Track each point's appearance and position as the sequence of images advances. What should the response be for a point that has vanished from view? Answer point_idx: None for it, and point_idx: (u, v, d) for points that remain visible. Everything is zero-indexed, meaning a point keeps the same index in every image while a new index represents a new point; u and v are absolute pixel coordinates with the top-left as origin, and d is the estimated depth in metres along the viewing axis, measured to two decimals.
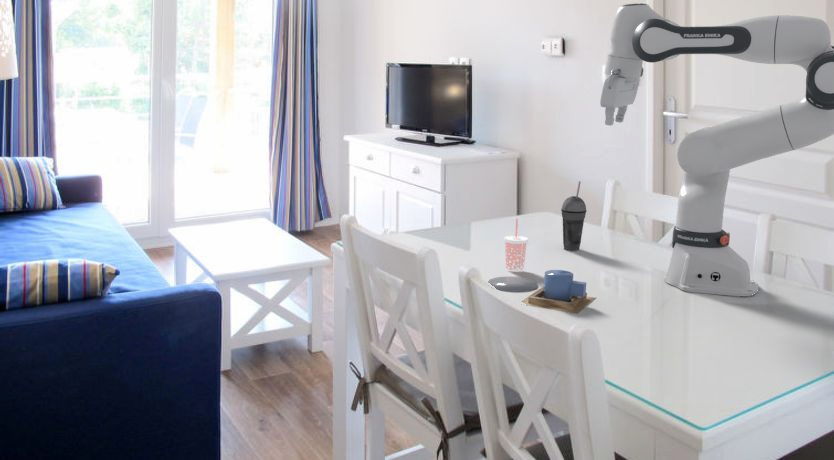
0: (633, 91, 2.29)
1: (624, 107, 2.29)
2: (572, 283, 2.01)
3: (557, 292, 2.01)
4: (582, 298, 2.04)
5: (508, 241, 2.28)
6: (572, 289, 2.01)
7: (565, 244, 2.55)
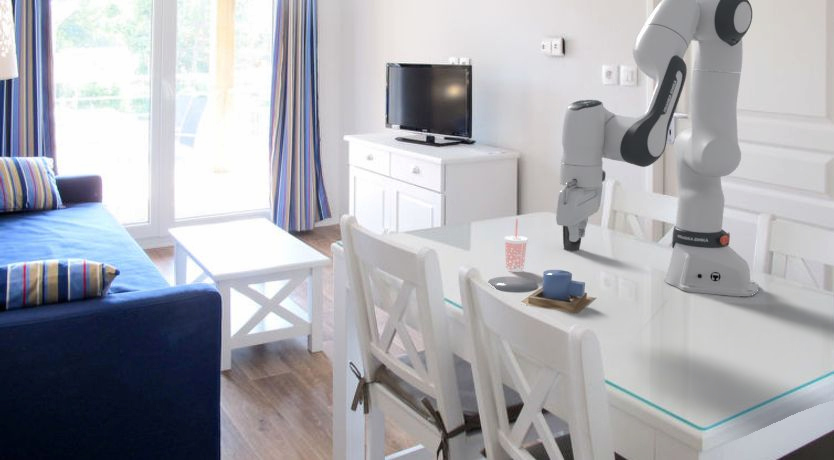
0: (596, 198, 1.97)
1: (584, 220, 1.94)
2: (571, 283, 2.01)
3: (556, 292, 2.01)
4: (582, 298, 2.04)
5: (508, 241, 2.28)
6: (571, 289, 2.02)
7: (565, 244, 2.55)
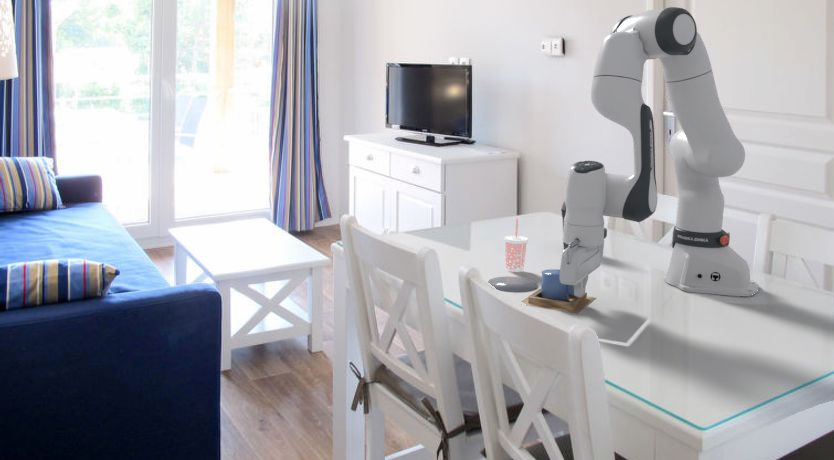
0: (598, 254, 2.03)
1: (584, 277, 1.99)
2: None
3: (555, 292, 2.01)
4: (582, 298, 2.04)
5: (508, 241, 2.28)
6: (570, 288, 2.02)
7: (565, 244, 2.55)
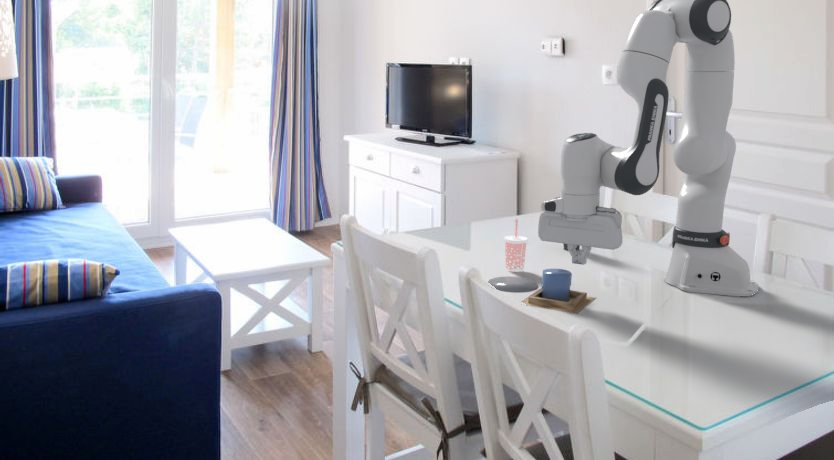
0: None
1: (576, 246, 2.06)
2: None
3: (569, 289, 2.04)
4: (582, 298, 2.04)
5: (508, 241, 2.28)
6: None
7: (565, 244, 2.55)
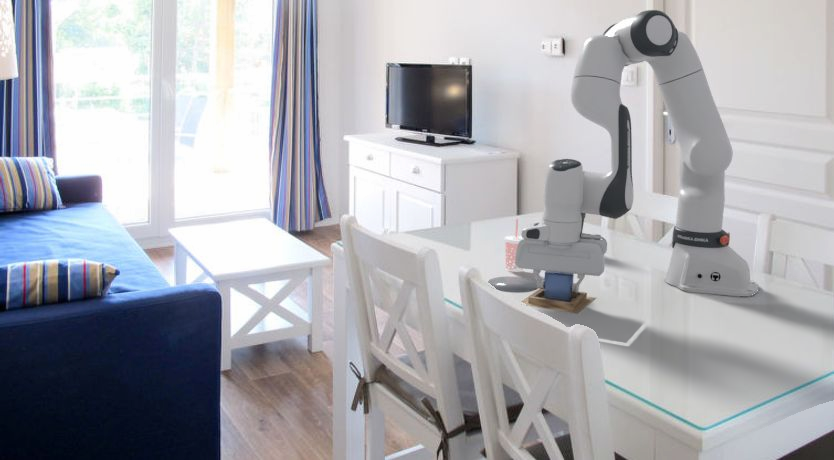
0: None
1: (540, 271, 2.05)
2: None
3: None
4: (582, 298, 2.04)
5: (508, 241, 2.28)
6: None
7: None
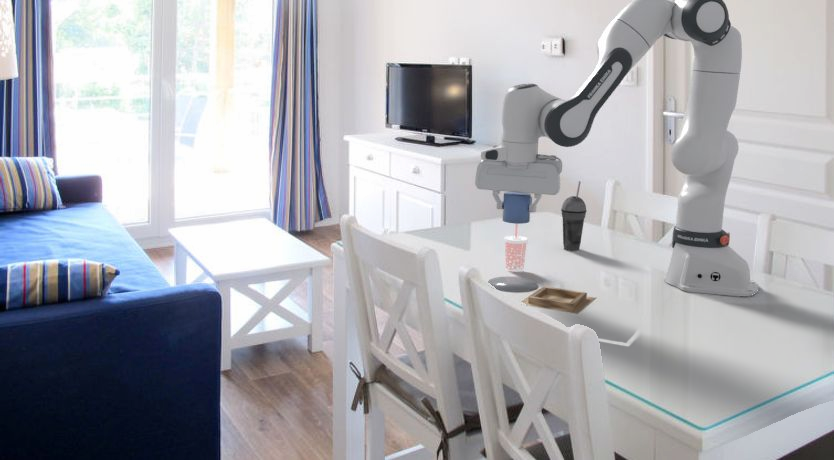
0: None
1: (499, 192, 2.14)
2: None
3: None
4: (582, 298, 2.04)
5: (508, 241, 2.28)
6: None
7: (565, 244, 2.55)
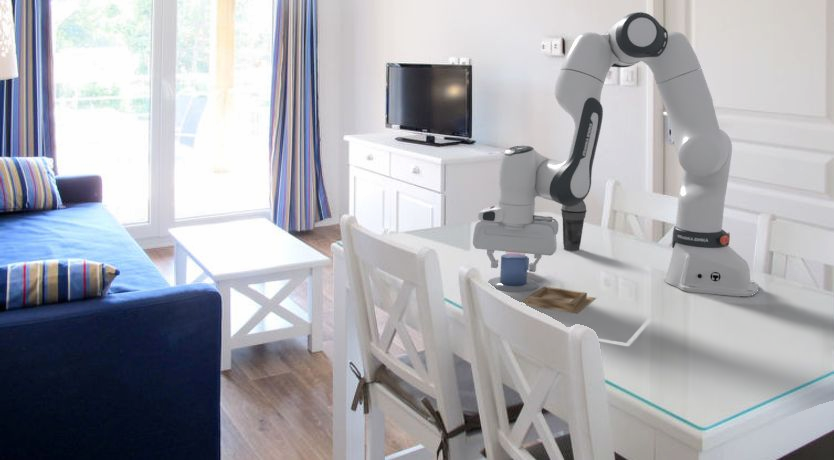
0: None
1: (493, 251, 2.17)
2: None
3: (526, 272, 2.16)
4: (582, 298, 2.04)
5: None
6: None
7: (565, 244, 2.55)
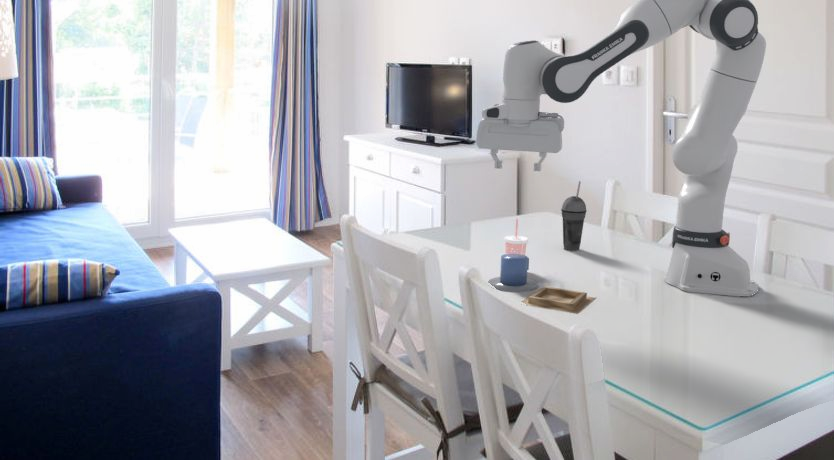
0: None
1: (497, 151, 2.12)
2: None
3: (526, 272, 2.16)
4: (582, 298, 2.04)
5: (508, 241, 2.28)
6: None
7: (565, 244, 2.55)
